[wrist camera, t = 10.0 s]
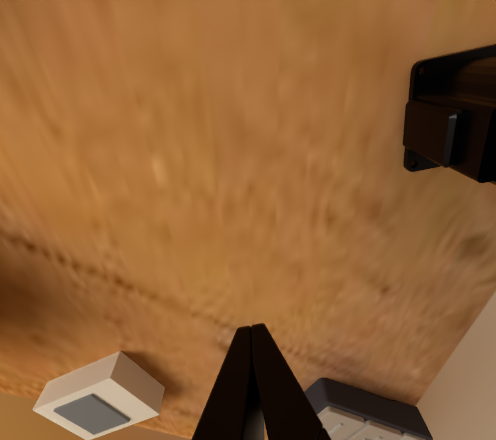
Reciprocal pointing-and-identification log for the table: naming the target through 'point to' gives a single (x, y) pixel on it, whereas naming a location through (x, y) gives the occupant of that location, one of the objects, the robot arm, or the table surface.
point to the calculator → (364, 414)
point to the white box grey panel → (101, 397)
